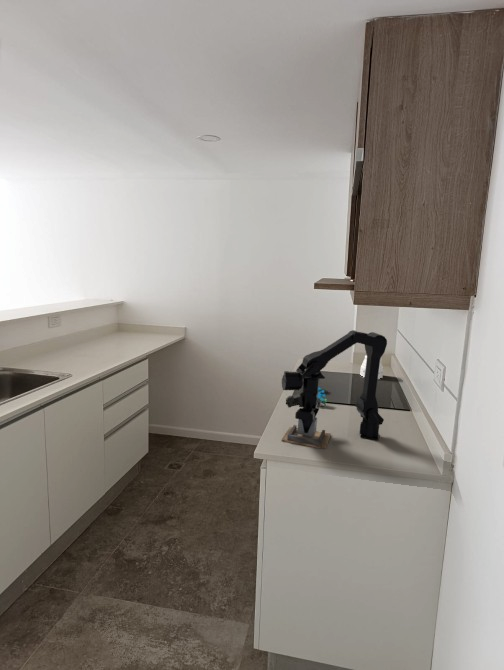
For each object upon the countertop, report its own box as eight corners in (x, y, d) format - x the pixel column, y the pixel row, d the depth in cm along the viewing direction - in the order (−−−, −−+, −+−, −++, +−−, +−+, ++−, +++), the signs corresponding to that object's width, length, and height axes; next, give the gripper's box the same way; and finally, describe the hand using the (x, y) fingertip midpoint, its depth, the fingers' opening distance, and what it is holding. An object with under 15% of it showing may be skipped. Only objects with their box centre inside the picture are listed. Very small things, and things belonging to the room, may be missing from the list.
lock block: (316, 431, 158) (317, 417, 157) (313, 436, 153) (314, 422, 152) (300, 429, 160) (301, 415, 159) (297, 433, 155) (298, 419, 154)
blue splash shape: (299, 400, 194) (310, 383, 198) (303, 406, 199) (313, 389, 202) (319, 409, 188) (331, 391, 191) (322, 415, 192) (333, 398, 196)
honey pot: (383, 380, 241) (386, 349, 238) (360, 377, 244) (362, 347, 241) (381, 374, 254) (384, 345, 250) (359, 372, 256) (362, 343, 253)
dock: (330, 435, 161) (331, 429, 160) (325, 448, 148) (326, 442, 148) (289, 428, 165) (290, 422, 165) (281, 441, 153) (281, 434, 153)
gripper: (294, 380, 165) (291, 418, 168) (282, 393, 147) (279, 436, 150) (322, 384, 161) (319, 422, 164) (314, 398, 144) (310, 441, 147)
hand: (307, 430), depth 156 cm, fingers closed on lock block, 5 cm apart
